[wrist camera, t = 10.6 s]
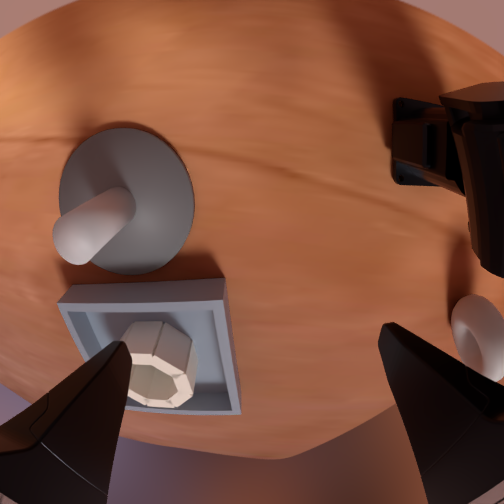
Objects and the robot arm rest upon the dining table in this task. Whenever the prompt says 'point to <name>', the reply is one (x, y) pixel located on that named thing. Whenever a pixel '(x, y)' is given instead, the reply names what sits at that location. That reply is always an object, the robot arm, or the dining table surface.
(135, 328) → the ring
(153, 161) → the stake
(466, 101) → the robot arm
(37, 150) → the dining table surface
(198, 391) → the tray
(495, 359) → the donut
